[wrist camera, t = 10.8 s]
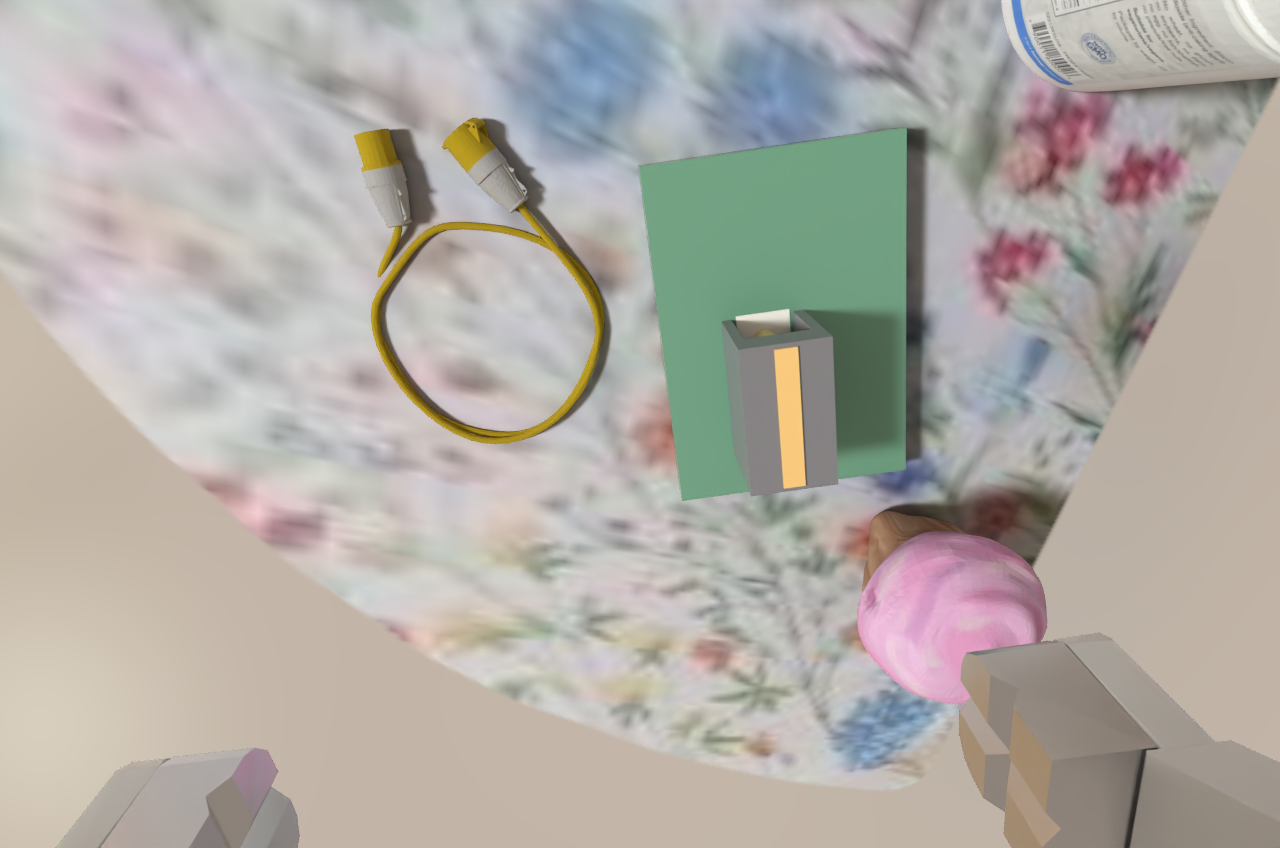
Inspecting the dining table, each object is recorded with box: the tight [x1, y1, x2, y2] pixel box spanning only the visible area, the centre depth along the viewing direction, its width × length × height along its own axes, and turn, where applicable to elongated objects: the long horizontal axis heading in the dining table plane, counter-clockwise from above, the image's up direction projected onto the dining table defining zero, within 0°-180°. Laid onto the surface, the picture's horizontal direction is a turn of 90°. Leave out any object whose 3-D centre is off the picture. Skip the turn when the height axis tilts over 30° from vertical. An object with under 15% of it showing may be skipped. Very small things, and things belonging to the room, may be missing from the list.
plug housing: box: [721, 310, 838, 496], centre depth 34 cm, size 7×4×5 cm, turn 8°
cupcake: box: [857, 511, 1047, 704], centre depth 37 cm, size 9×9×10 cm
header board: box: [638, 128, 907, 501], centre depth 35 cm, size 17×12×4 cm
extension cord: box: [354, 118, 604, 444], centre depth 35 cm, size 12×16×2 cm
